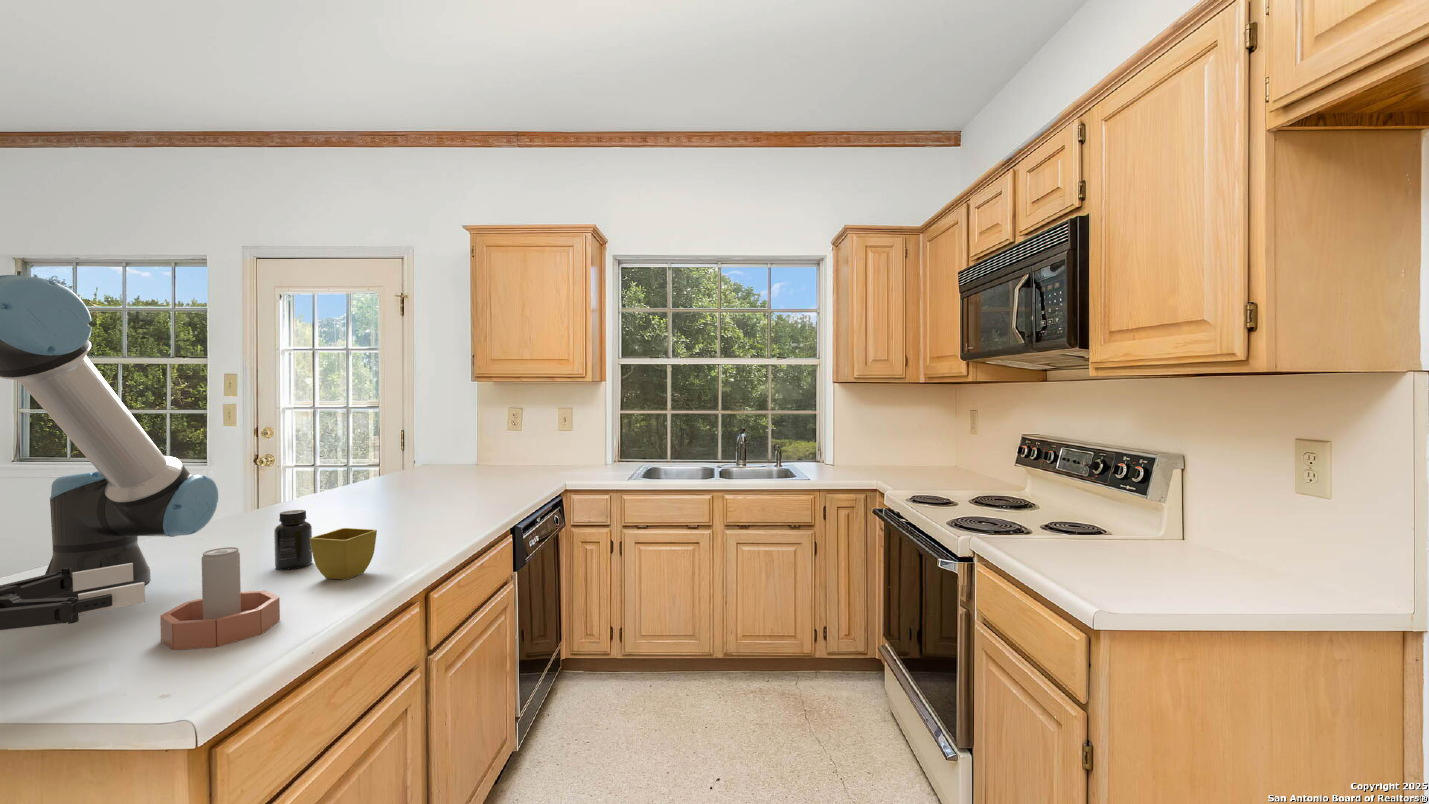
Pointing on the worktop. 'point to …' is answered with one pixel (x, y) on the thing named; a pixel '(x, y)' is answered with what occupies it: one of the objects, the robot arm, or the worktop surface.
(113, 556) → the robot arm
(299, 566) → the supplement bottle
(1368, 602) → the worktop surface
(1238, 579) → the worktop surface
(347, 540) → the flower pot
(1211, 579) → the worktop surface
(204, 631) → the terracotta bowl
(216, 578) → the beverage can
